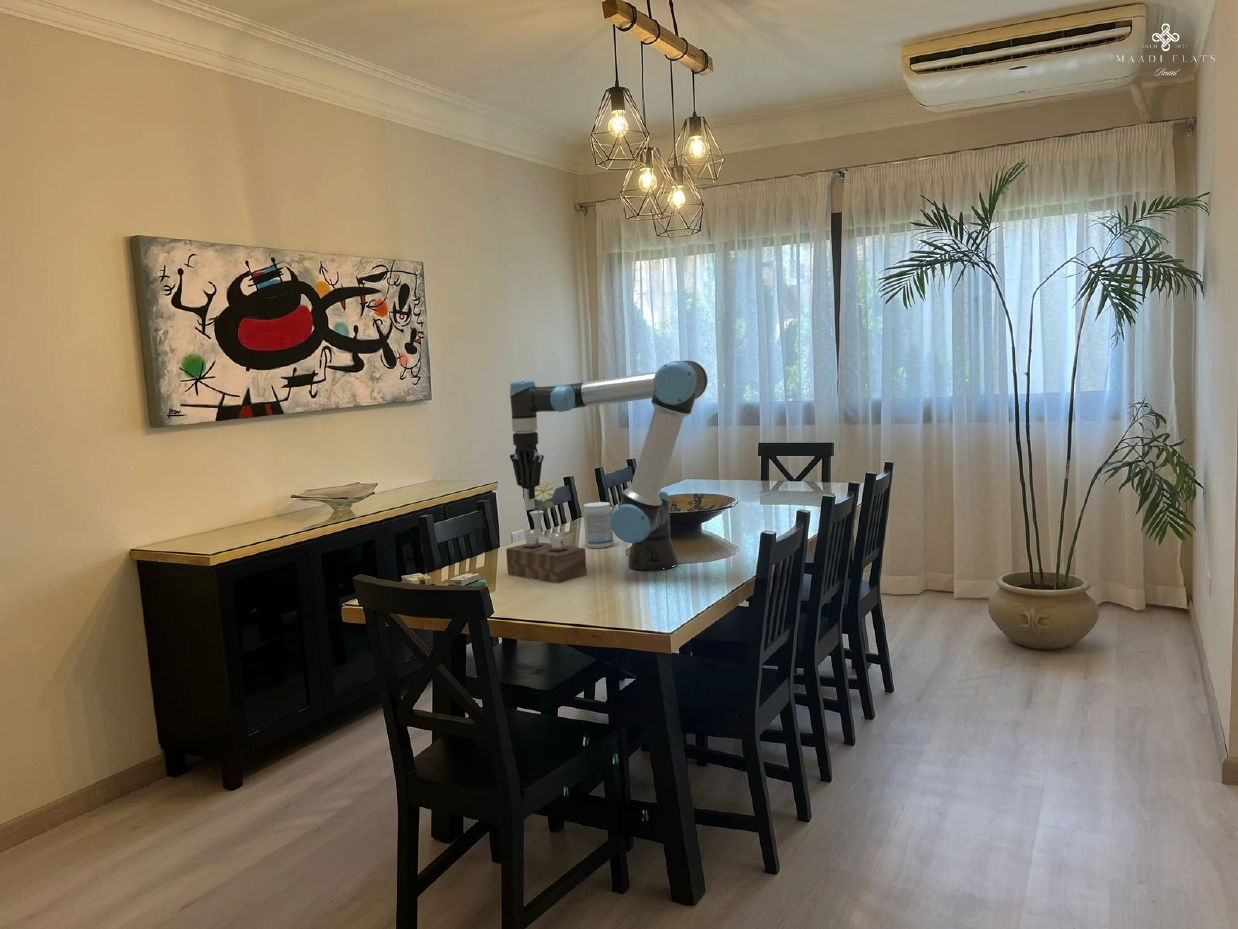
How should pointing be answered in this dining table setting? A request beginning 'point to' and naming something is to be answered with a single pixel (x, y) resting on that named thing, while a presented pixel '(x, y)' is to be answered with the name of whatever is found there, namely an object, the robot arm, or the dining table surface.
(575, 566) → the block
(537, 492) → the flower in vase
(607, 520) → the supplement tub
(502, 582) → the dining table surface
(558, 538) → the peg near
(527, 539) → the peg far
